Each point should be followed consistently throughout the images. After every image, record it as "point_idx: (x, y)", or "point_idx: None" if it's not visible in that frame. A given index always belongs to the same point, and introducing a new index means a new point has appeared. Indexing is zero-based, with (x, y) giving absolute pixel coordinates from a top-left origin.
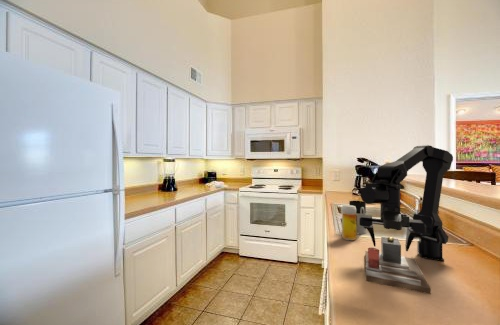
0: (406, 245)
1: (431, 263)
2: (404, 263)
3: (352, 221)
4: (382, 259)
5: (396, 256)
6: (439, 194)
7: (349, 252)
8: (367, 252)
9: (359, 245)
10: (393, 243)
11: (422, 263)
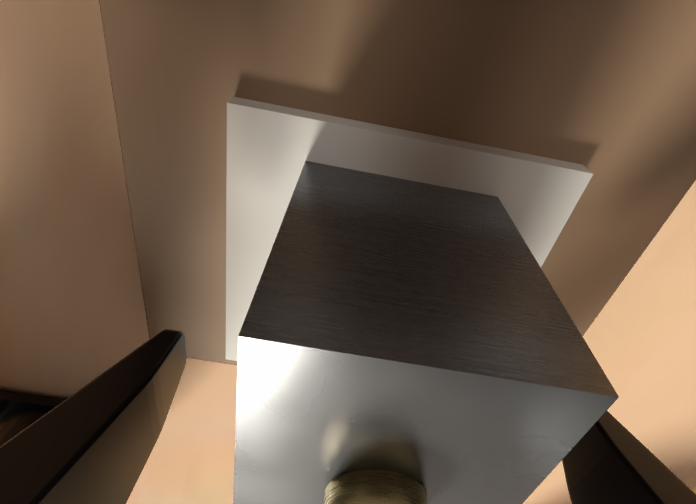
0: (137, 404)
1: (52, 342)
2: (259, 195)
3: None
4: None
5: (348, 212)
6: None
7: (634, 400)
8: None
9: None
10: (373, 406)
11: (111, 329)
